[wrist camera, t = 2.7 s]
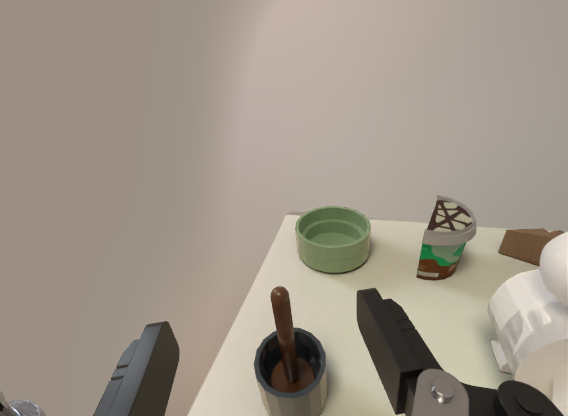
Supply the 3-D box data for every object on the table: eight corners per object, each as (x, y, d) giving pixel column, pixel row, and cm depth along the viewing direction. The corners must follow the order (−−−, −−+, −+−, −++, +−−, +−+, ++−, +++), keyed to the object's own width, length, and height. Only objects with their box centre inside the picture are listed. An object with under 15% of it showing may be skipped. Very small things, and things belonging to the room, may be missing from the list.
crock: (256, 424, 29) (246, 394, 26) (268, 356, 35) (262, 326, 32) (327, 431, 27) (325, 401, 24) (326, 359, 34) (325, 329, 31)
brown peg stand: (270, 409, 29) (244, 311, 22) (276, 364, 33) (257, 269, 26) (314, 413, 28) (305, 314, 21) (315, 367, 33) (308, 270, 25)
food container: (459, 298, 39) (477, 243, 35) (414, 283, 43) (424, 231, 38) (467, 250, 48) (481, 200, 43) (428, 240, 51) (438, 193, 46)
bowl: (295, 274, 47) (292, 247, 44) (300, 231, 58) (298, 207, 55) (374, 276, 45) (376, 247, 42) (364, 230, 56) (365, 205, 53)
